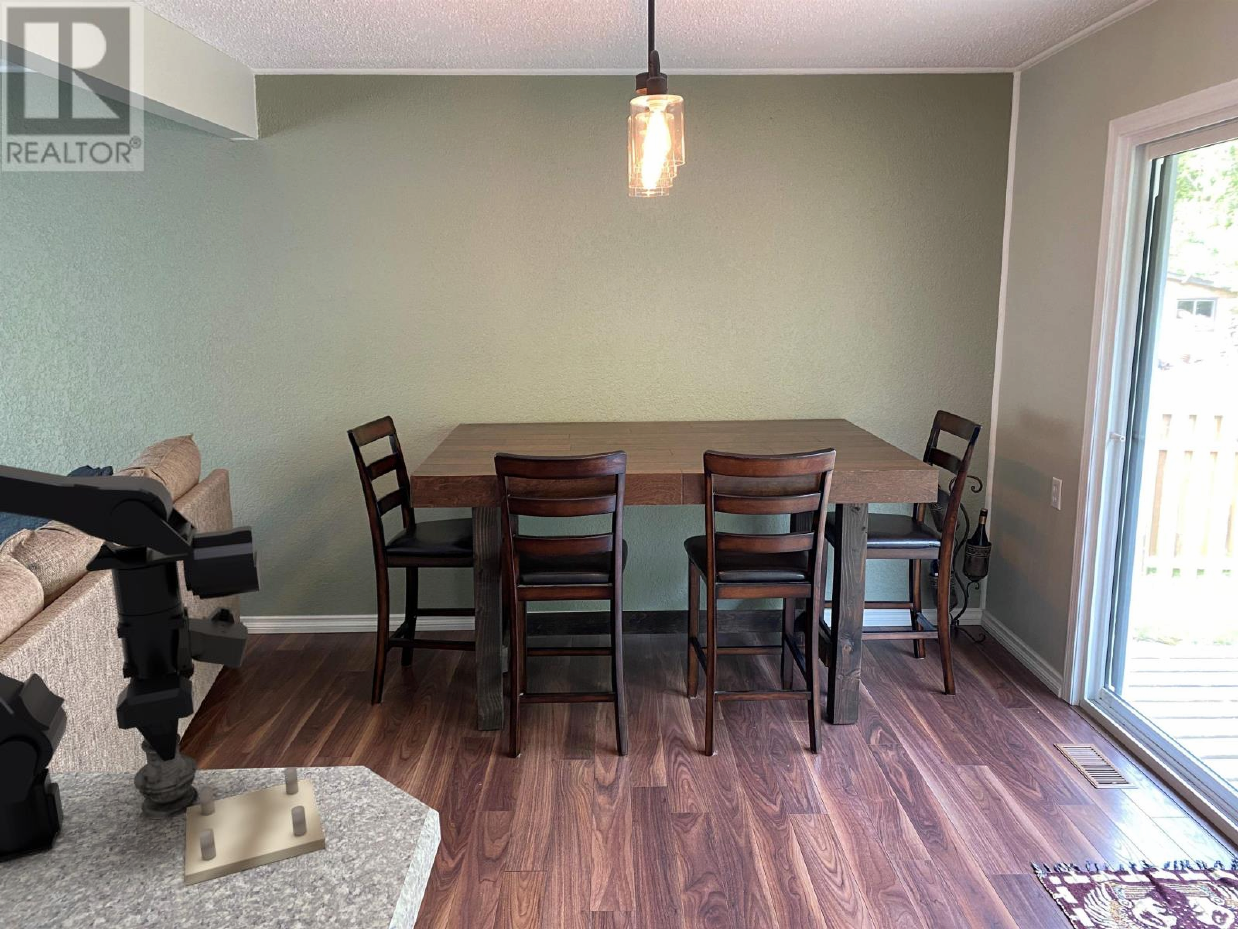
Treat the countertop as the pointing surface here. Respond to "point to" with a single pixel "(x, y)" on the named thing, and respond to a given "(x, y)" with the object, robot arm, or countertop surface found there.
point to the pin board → (251, 828)
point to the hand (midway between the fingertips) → (169, 750)
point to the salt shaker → (166, 783)
